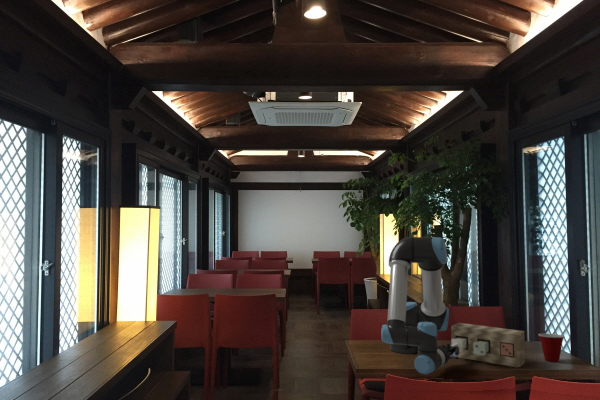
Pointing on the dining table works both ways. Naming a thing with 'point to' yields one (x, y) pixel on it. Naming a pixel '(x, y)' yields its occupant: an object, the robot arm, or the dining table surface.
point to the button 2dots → (481, 347)
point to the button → (460, 343)
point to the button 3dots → (507, 349)
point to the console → (491, 343)
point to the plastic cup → (551, 346)
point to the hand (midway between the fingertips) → (457, 346)
